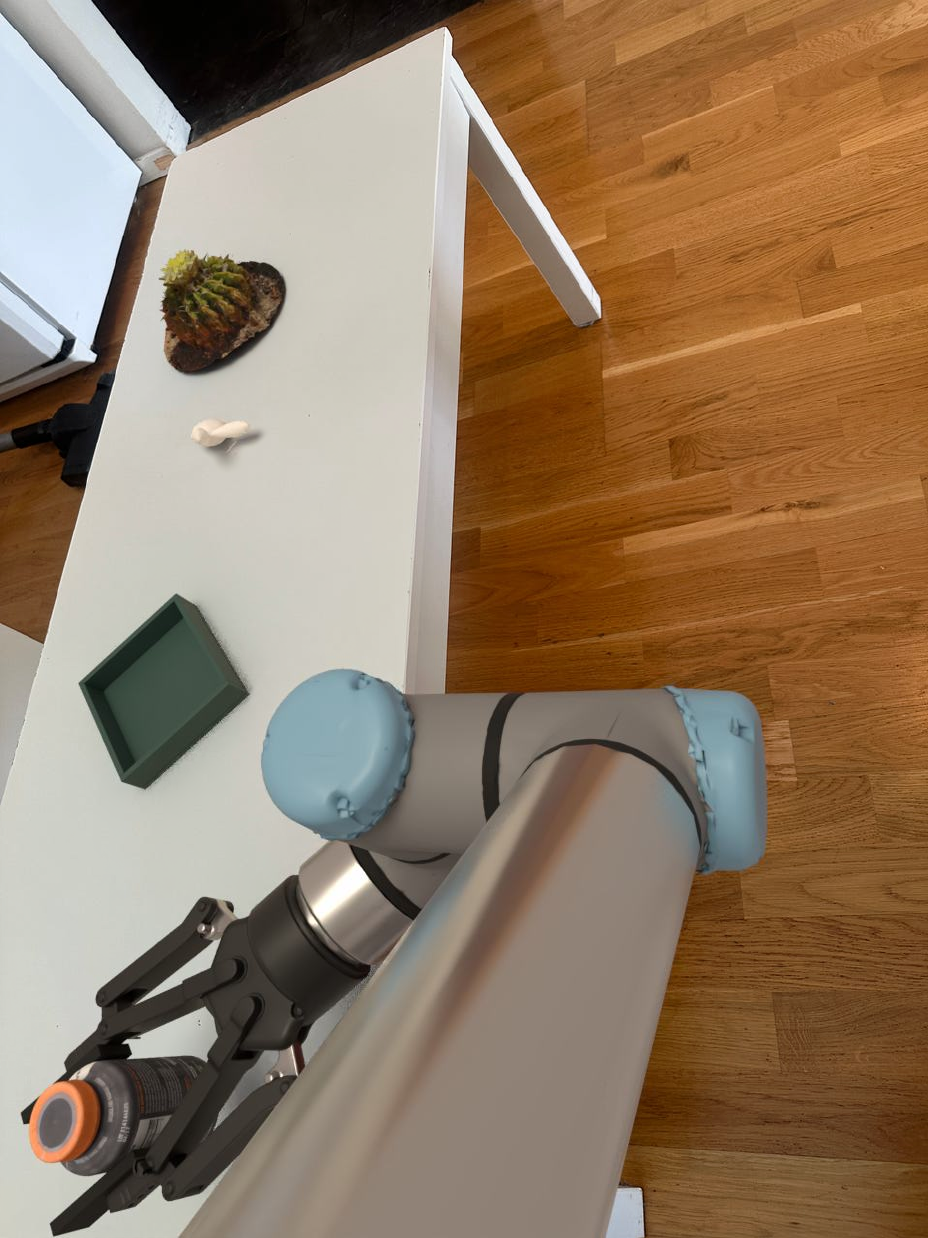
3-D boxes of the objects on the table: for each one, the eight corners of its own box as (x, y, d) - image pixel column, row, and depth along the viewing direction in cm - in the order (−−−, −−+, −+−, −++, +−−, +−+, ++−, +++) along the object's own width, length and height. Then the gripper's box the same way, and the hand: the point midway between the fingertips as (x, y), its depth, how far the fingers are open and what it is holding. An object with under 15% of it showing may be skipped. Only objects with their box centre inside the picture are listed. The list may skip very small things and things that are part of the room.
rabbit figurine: (225, 413, 95) (246, 408, 88) (237, 447, 96) (259, 445, 90) (174, 428, 93) (192, 424, 86) (187, 463, 94) (205, 462, 87)
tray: (249, 694, 78) (229, 683, 75) (144, 789, 78) (121, 782, 76) (196, 605, 85) (175, 592, 83) (100, 692, 86) (77, 683, 83)
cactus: (265, 243, 105) (215, 178, 97) (302, 315, 97) (251, 250, 89) (157, 323, 108) (99, 267, 100) (183, 400, 99) (123, 345, 91)
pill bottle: (152, 1063, 59) (18, 1070, 50) (223, 1048, 57) (98, 1052, 48) (150, 1164, 56) (7, 1192, 47) (224, 1150, 54) (92, 1176, 45)
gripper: (444, 1061, 49) (149, 1321, 49) (300, 812, 59) (59, 1029, 60) (383, 1067, 42) (46, 1364, 43) (234, 787, 53) (-34, 1029, 54)
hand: (54, 1169), depth 51 cm, fingers closed on pill bottle, 6 cm apart
